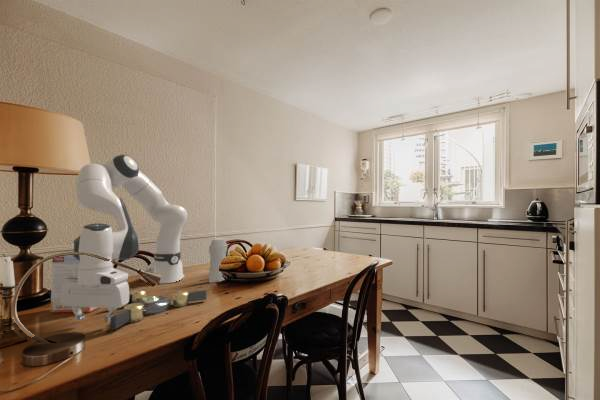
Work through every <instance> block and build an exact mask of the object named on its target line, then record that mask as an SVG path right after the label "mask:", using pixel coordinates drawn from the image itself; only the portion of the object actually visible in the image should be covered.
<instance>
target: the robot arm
mask: <svg viewBox="0 0 600 400" xmlns="http://www.w3.org/2000/svg"><path fill="white" fill-rule="evenodd" d="M120 187H123V189H124V190H125V191H126V192H127V193H128V194H129V195H130V196H131V197H132V198H133V199H134V200H136V202H138V204H140V205H141V206H142V207H143V208H144V210H145V211H146V212H147V214H148V215H149V217H151V218H152V220H153V222H155V223H156V224H158V225H160V228H159V232H158V235H157V236H156V243H155V244H156V247H155V252H156V253H154V254H153V261H152V262H151V263H149V265H148V266H146V269H144V272H145V271H146V272H154V273H157V274H159V275H161V277H162V278H161V281H160V283H159V284H170V283H171V284H172V283H176V281H177V282H179V280H180V281H182V280H183V279H182V278H184V277H185V274H184V273H183V272H184V271H183V261H181V256H182V254H181V250H180V249H181V235H182V231H183V228H184V224H185V223H186V221H187V219H188V211H187V210H186V208H184V207H183V206H181V205H179V204H171V203H170V202H168V201H167V199H166V197H164V194H163V192H162V191H161V190H160V189H159V187H158V186H156V184H155V183H153V181H152V180H151V179H150V178H149V177H147V175H145V174H144V173H143V172H141V171H140V169H139V165H138V163H137V161H136V160H135V159H134V158H132V157H131V156H130V155H126V154H119V155H117V156H114V158H112V159H110V160H108V161H106V162H104V163H102V164H99V163H88V164H86V165H84V166H82V167H81V168H80V170H79V173H78V175H77V179H76V185H75V189H76V191H75V193H76V199H77V201H78V203H79V204H80V205H81V206H82V207H84V208H85V209H86V210H89V211H93V212H98V213H102V214H105V215H108V216H110V217H113V218H114V220H115V221H116V224H117V225H116V226H117V227H118V231H113V228H112V226H111V225H109V224H107V223H90V224H85V225H84V226H82V228H81V232H80V235H79V236H77V237H76V238H75V239H74V240H73V245H74V246H73V252H85V253H91V254H95V255H98V256H101V257H104V258H107V259H110V260H109V261H104V260H101V259H98V258H95V257H91V256H87V255H74V256H73V257H75V258H76V259H78V260H79V261H80V263H79V266H78V275H77V276H74V275H69V276H68V277H66V278H65V279H64V282H63V287H62V292H61V298H60V303H61V305H62V306H72V311H73V312H72V313H73V314H74V316H75V321H76V322H77V321H78V322H79V321H84V319H85V315H86V314H85V313H86V312H82V311H81V309H80V308H81V307H99V308H106V309H107V311H108V313H107V314H106V315H104V317H103V318H104V320H103V321H104V322H107V323H108V322H109V323H110V317H112V316H114V315H115V313H116V311H117V309H120V308H122V307H123V308H124V306H126V304H127V303H128V302H129V293H130V285H129V282H128V281H127V280H128V278H129V274H128V273H127V272H126V271H125V272H124V271H122V270H119V269H117V268H115V267H114V263H112V262H113V260H118V261H119V260H120V261H121V260H130V259H132V258H133V257H134V256H135V255H137V254H138V253H139V249H140V239H139V238H138V235H137V233H136V231H135V229H134V226H133V223H132V221H131V217H130V215H129V212H128V209H127V206H126V204H125V201H124V200H123V198H121V197H119V196H117V195H116V194H115V192H113V191H114V190H116V189H118V188H120ZM111 261H112V262H111ZM67 278H68V279H67ZM140 279H141V280H142V281H144V282H145V283H147V282H146V281H145V280H144V279H143V278H142V276H140ZM181 279H182V280H181ZM127 305H128V304H127Z"/></svg>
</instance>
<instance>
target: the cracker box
mask: <svg viewBox="0 0 600 400" xmlns="http://www.w3.org/2000/svg"><path fill="white" fill-rule="evenodd" d="M62 252H63V251H62ZM62 252H60V253H62ZM58 253H59V252H56V253H53V254H52V256H53V255H54V254H58ZM73 256H74V255H68V256H61V257H56V258H53V257H52V267H51V288H50V289H51V290H50V291H51V292H50V313H74V312H73V311H72V306H62V305H61V303H60V298H61V292H62V287H63V282H64V279H65V278H66V277H68V276H69V275H74V276H77V275H78V266H79V263H80V261H79V260H78V259H76V258H75V257H73ZM67 279H68V278H67ZM80 309H81V311H82V313H91V312H93V311H95V310H97V309H100V307H81V308H80Z"/></svg>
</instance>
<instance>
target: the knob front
mask: <svg viewBox="0 0 600 400" xmlns="http://www.w3.org/2000/svg"><path fill="white" fill-rule="evenodd" d="M143 318H144V316H143V304H142V303H133V304H127V305H125V306H123V310H121V311H120V312H117V313H116V314H113V316H112V317H110V322H109V329H110V330H117V329H118V328H120V327H122V326H124V325H125V324H126V323H127V324H128V323H129V324H130V323H135V322H136V323H137V322H139V321H142V320H143Z"/></svg>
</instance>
